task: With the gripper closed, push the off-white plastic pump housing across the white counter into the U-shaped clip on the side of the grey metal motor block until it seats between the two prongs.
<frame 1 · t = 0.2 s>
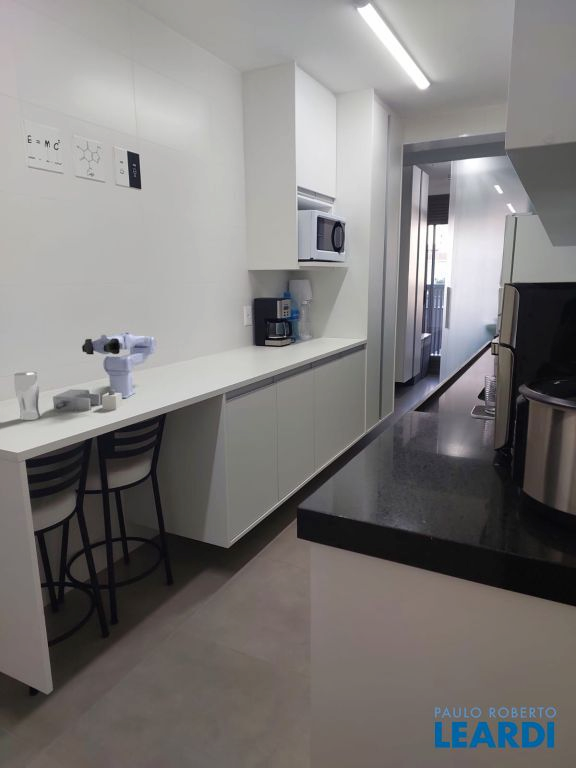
hand: (93, 348, 175), 21 cm above the countertop, tool horizontal, fingers open, 7 cm apart
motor: (72, 406, 182), on the countertop
beer glass: (30, 418, 167), on the countertop
pump: (112, 408, 180), on the countertop
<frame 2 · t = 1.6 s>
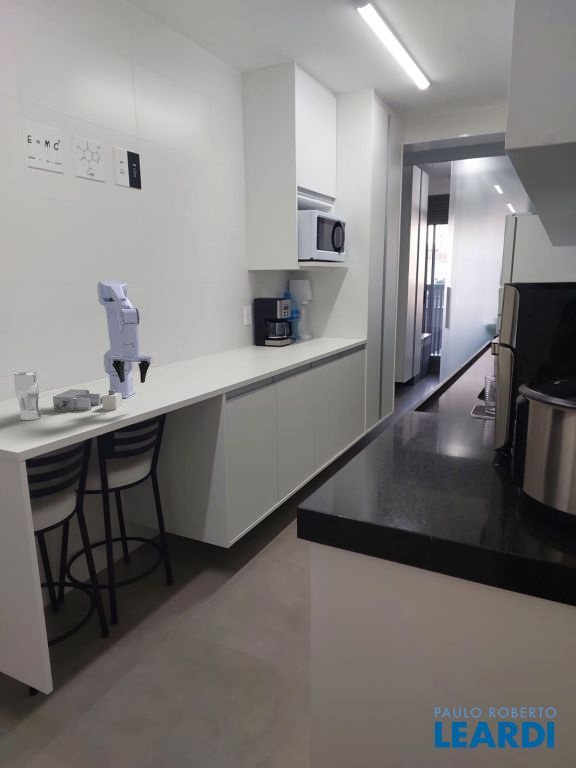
hand: (132, 382, 177), 9 cm above the countertop, tool pointing down, fingers open, 7 cm apart
nothing on the countertop moved.
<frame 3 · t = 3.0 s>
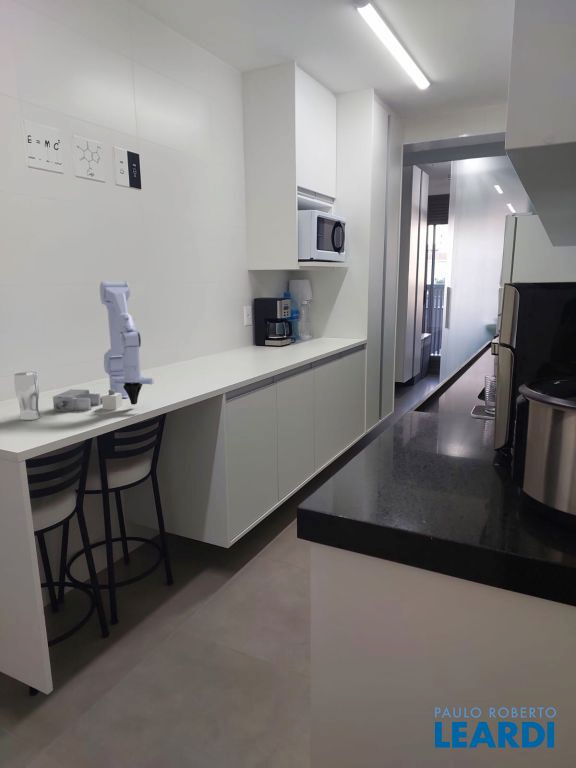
hand: (134, 403, 179), 2 cm above the countertop, tool pointing down, fingers closed
nothing on the countertop moved.
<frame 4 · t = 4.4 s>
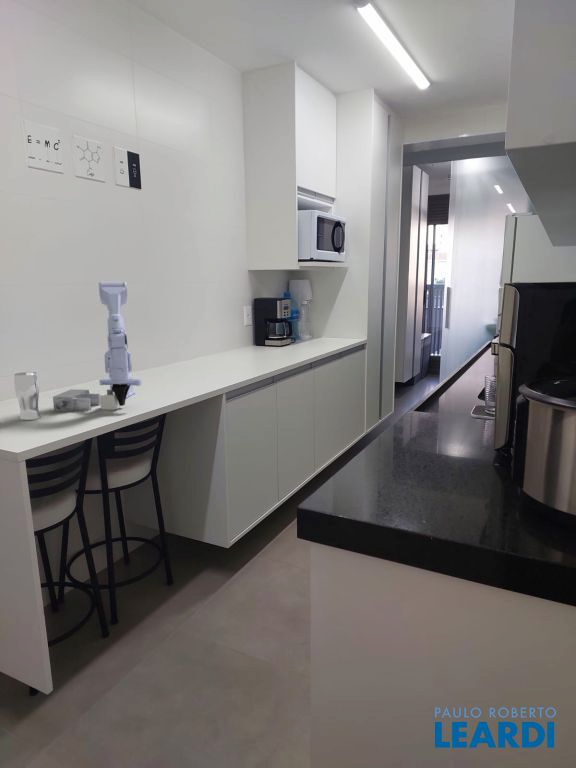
hand: (122, 405, 180), 1 cm above the countertop, tool pointing down, fingers closed
pump: (111, 407, 180), on the countertop, touching gripper
everything else where it was.
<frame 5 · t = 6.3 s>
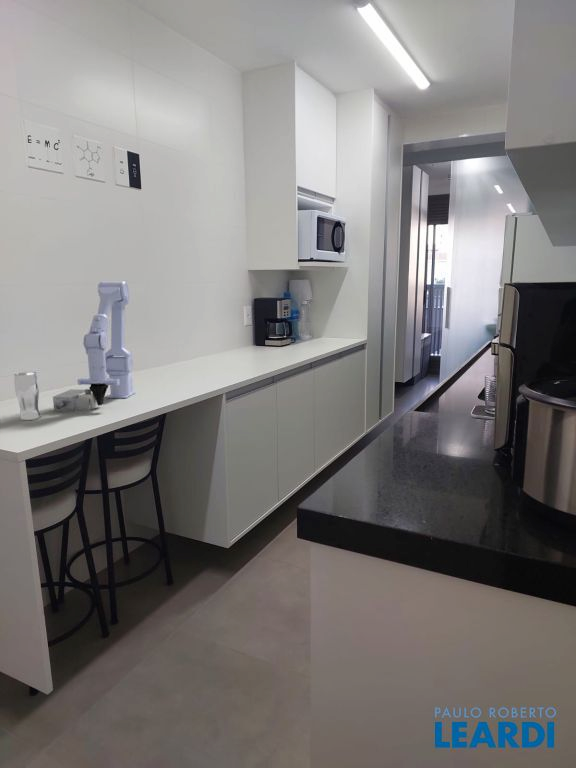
hand: (100, 404, 180), 1 cm above the countertop, tool pointing down, fingers closed
pump: (89, 407, 181), on the countertop, touching gripper
everything else where it was.
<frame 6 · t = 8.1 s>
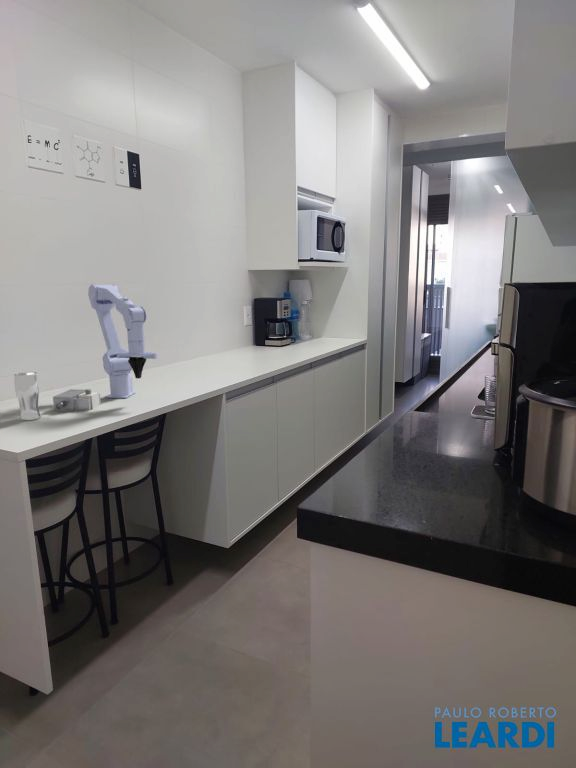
hand: (138, 377, 185), 9 cm above the countertop, tool pointing down, fingers closed
pump: (89, 407, 181), on the countertop
everything else where it was.
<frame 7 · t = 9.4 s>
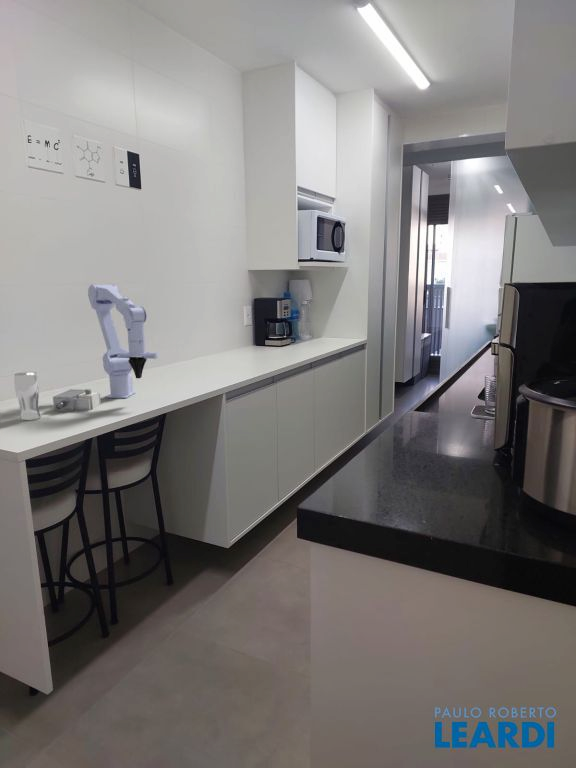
hand: (138, 377, 185), 9 cm above the countertop, tool pointing down, fingers closed
nothing on the countertop moved.
at the end: pump 0.2 cm from the target spot on the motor, point 0.0 cm above the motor's base; pump tilted 0°; pump touching countertop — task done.
